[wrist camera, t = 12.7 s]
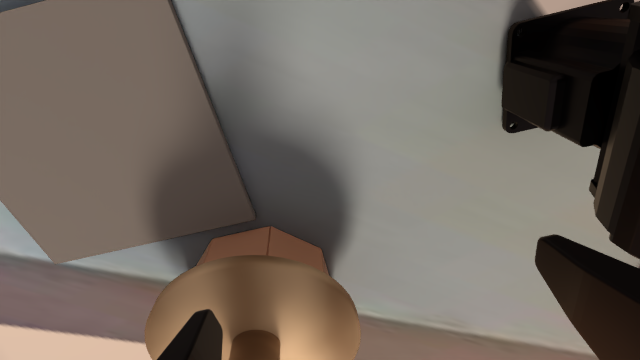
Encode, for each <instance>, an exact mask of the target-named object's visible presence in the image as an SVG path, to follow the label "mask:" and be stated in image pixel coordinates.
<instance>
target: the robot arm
mask: <svg viewBox="0 0 640 360" xmlns="http://www.w3.org/2000/svg"><path fill="white" fill-rule="evenodd" d="M622 4H623V7H622V9H621V10H620V6H621V5H622ZM519 28H521V29H522V32H521V34H520V35H519V36H517V31H518V30H519ZM502 107H503V122H502V127H503V129H504V130H505V131H507V132H508V133H516V132H520V131H525V130H529V129H533V128H538V127H539V128H541V129H543V130H545V131H553V132H555V133H556V134H558V135H560V136H562V137H564V138H566V139H568V140H570V141H572V142H574V143H576V144H578V145H580V146H581V147H587V146H591V145H593V146H595V147H597V148H599V149H601V150H600V155H599V159H598V163H597V168H596V172H595V177H594V179H592V180H591V183H590V187H589V191H590V192H591V193H592V195H593V196H594V198H595V199H594V209H595V215H596V217H597V218H598V220H599V221H600V222H601V223H602V225H603V226H604V227H605V228H606V230H607V231H608V232H610V236H609V239H610V241H611V242H613V243H614V244H616V245H617V246H618V247H620V248H621V249H623V250H624V251H626V252H627V253H629V254H630V255H632V256H634V257H636V258H638V259H640V1H639V2H634V0H606V1H602V2H598V3H593V4H589V5H585V6H582V7H577V8H573V9H569V10H565V11H561V12H557V13H552V14H548V15H544V16H540V17H536V18H532V19H528V20H524V21H520V22H517V23H514V24H513V25H512V26H511V28H510V29H509V32H508V43H507V59H506V65H505V66H504V73H503V90H502ZM513 122H514V125H513V126H512V127H510V125H511V123H513ZM535 263H536V266H537V269H538V270H539V272H540V274H541V275H542V277H543V278H544V280H545V282H546V283H547V285H548V286H549V288H550V290H551V291H552V293H553V294H554V296H555V298H556V299H557V301H558V303H559V304H560V306H561V307H562V309H563V311H564V312H565V314H566V315H567V317H568V318H569V320H570V321H571V323H572V324H573V325H574V327H575V328H576V330H577V331H578V332H579V334H580V335H581V336H582V337H583V339H584V340H585V341H586V343H587V344H588V345H589V347H590V348H591V349H592V351H593V352H594V353H595V354H596V356H597V357H598V358H599V360H640V269H638V268H636V267H634V266H631V265H629V264H627V263H624V262H622V261H619V260H617V259H615V258H612V257H610V256H607V255H605V254H603V253H600V252H598V251H595V250H593V249H591V248H588V247H586V246H583V245H581V244H579V243H576V242H574V241H571V240H569V239H567V238H564V237H562V236H559V235H549V236H544V237H541V238H539V240H538V242H537V249H536V256H535ZM222 344H223V330H222V327H221V325H220V323H219V322H218V320H217V318H216V317H215V315H214V313H213V312H212V310H210V309H205V310H200V311H197V312H195V313H194V314H193V315H192V316H191V317H190V318H189V320H188V321H187V322H186V324H185V325H184V326H183V327H182V329H181V330H180V331H179V332H178V334H177V335H176V336H175V337H174V339H173V340H172V341H171V342H170V344H169V345H168V346H167V347H166V349H165V350H164V351H163V352H162V354H161V355H160V356H159V357H158V359H157V360H222Z"/></svg>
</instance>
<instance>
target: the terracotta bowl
mask: <svg viewBox="0 0 640 360" xmlns="http://www.w3.org/2000/svg"><path fill="white" fill-rule="evenodd" d="M242 255H268V256H275V257H282V258H287V259H291V260H295V261H299V262H302V263H304V264H307V265H310V266H312V267H314V268H316V269H318V270H320V271H322V272H324V273H326V274H327V275H329V273H328V270H327V266H326V263H325V259H324V256H323V252H322V249H321V248H319V247H316V246H314V245H312V244H310V243H307V242H305V241H303V240H301V239H298V238H296V237H294V236H292V235H290V234H287V233H285V232H283V231H281V230H278V229H276V228H274V227H272V226H271V227H270V226H268V227H263V228H259V229H254V230H250V231H245V232H241V233H236V234H232V235H227V236H223V237H218V238H213V240H211V242H210V243H209V245H208V247H207V248H206V250H205V252H204V253H203V255H202V257H201V258H200V260H199V262H198V263H197V265H196V266H198V265H201V264H203V263H206V262H209V261H213V260H217V259H220V258H226V257H232V256H242Z"/></svg>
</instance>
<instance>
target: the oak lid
mask: <svg viewBox="0 0 640 360" xmlns="http://www.w3.org/2000/svg"><path fill="white" fill-rule="evenodd" d="M205 309H210V310H212V312H213V313H214V315H215V317H216V318H217V320H218V322H219V323H220V325H221V327H222V330H223V344H222V360H353V359H354V358H355V355H356V353H357V351H358V348H359V345H360V337H361V331H360V324H359V319H358V314H357V310H356V307H355V305H354V302H353V301H352V299H351V297H350V295H349V294H348V293H347V292H346V290H345V289H344V288H343V287H342V286H341V285H340V284H339V283H338V282H337V281H336V280H334V279H333V278H332V277H330V276H329V275H327V274H326V273H324V272H322V271H320V270H318V269H316V268H314V267H312V266H310V265H307V264H304V263H302V262H299V261H295V260H291V259H287V258H282V257H275V256H268V255H242V256H232V257H226V258H220V259H217V260H213V261H209V262H206V263H203V264H201V265H198V266H196V267H193V268H192V269H190V270H188V271H186V272H184V273H182V274H181V275H179V276H178V277H177V278H175V279H174V280H173V281H171V282H170V283H169V284H168V285H167V286H166V287H165V288H164V289H163V291H162V292H161V294H160V295H159V296H158V298H157V300H156V302H155V304H154V306H153V308H152V311H151V313H150V315H149V317H148V319H147V322H146V327H145V342H146V347H147V350H148V352H149V354H150V356H151V358H152V360H157V359H158V357H159V356H160V355H161V354H162V352H163V351H164V350H165V349H166V347H167V346H168V345H169V344H170V342H171V341H172V340H173V339H174V337H175V336H176V335H177V334H178V332H179V331H180V330H181V329H182V327H183V326H184V325H185V324H186V322H187V321H188V320H189V318H190V317H191V316H192V315H193V314H194V313H195V312H197V311H200V310H205Z"/></svg>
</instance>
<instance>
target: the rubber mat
mask: <svg viewBox="0 0 640 360" xmlns="http://www.w3.org/2000/svg"><path fill="white" fill-rule="evenodd" d="M0 201H1V202H2V203H3V204H4V205H5V206H6V208H7V209H8V210H9V211H10V212H11V213H12V215H13V216H14V217H15V218H16V219H17V220H18V222H19V223H20V224H21V225H22V226H23V227H24V229H25V230H26V231H27V232H28V233H29V234H30V236H31V237H32V238H33V239H34V240H35V241H36V243H37V244H38V245H39V246H40V247H41V248H42V250H43V251H44V252H45V253H46V254H47V255H48V256H49V258H50V259H51V260H52V261H53V262H54V263H55V264H58V263H63V262H67V261H72V260H76V259H81V258H85V257H90V256H94V255H99V254H103V253H108V252H112V251H117V250H121V249H126V248H130V247H135V246H139V245H144V244H148V243H153V242H157V241H162V240H166V239H171V238H175V237H180V236H184V235H189V234H193V233H198V232H202V231H207V230H211V229H216V228H220V227H225V226H229V225H234V224H238V223H243V222H247V221H252V220H255V218H256V214H255V212H254V209H253V207H252V204H251V202H250V199H249V197H248V194H247V192H246V189H245V187H244V184H243V182H242V179H241V176H240V174H239V171H238V169H237V166H236V164H235V161H234V159H233V156H232V154H231V151H230V149H229V146H228V144H227V141H226V139H225V136H224V134H223V131H222V128H221V126H220V123H219V121H218V118H217V116H216V113H215V111H214V108H213V106H212V103H211V101H210V98H209V96H208V93H207V91H206V88H205V85H204V83H203V80H202V78H201V75H200V73H199V70H198V68H197V65H196V63H195V60H194V58H193V55H192V53H191V50H190V48H189V45H188V43H187V40H186V37H185V35H184V32H183V30H182V27H181V25H180V22H179V20H178V17H177V15H176V12H175V10H174V7H173V5H172V2H171V0H45V1H42V2H38V3H34V4H30V5H27V6H23V7H19V8H15V9H12V10H8V11H4V12H0Z"/></svg>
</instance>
